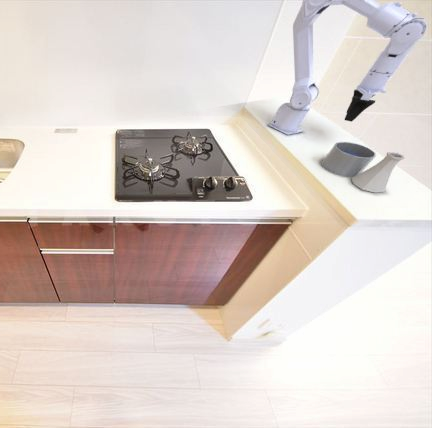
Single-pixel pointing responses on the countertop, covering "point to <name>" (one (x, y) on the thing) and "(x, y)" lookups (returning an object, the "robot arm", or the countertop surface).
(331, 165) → the steel cup
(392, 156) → the flask
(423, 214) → the countertop surface
